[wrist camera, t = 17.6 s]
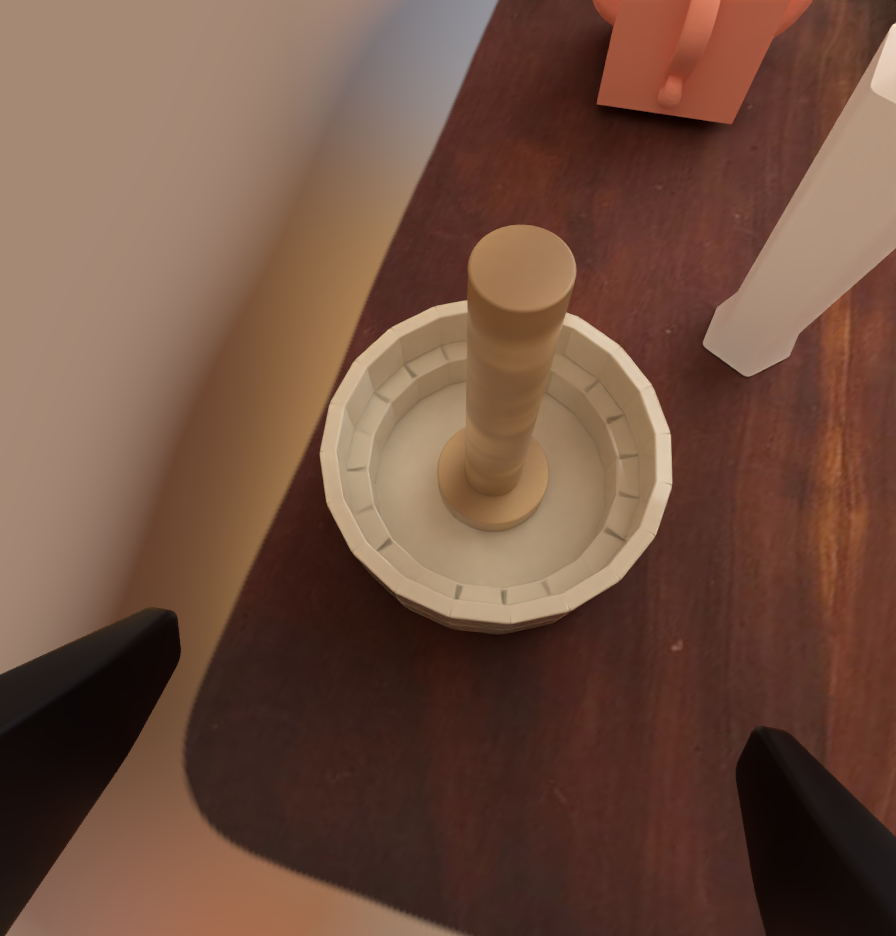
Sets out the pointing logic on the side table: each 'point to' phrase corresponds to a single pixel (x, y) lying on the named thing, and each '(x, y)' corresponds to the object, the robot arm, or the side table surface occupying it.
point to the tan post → (506, 376)
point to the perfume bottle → (820, 230)
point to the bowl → (563, 505)
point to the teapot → (688, 53)
